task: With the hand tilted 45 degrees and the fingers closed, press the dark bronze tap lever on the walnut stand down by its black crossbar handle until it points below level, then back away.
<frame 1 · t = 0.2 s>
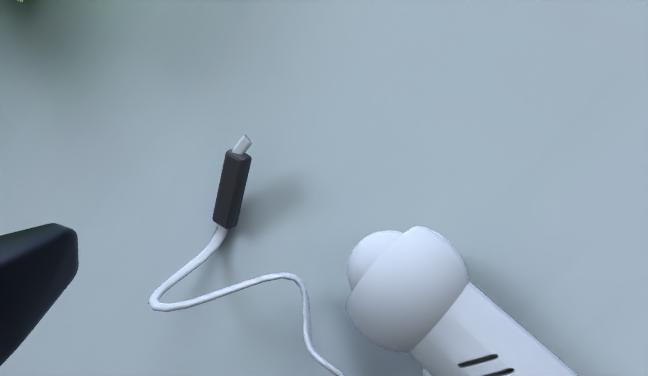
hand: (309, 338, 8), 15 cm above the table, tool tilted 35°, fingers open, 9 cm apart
clip-on lamp: (344, 326, 23), on the table
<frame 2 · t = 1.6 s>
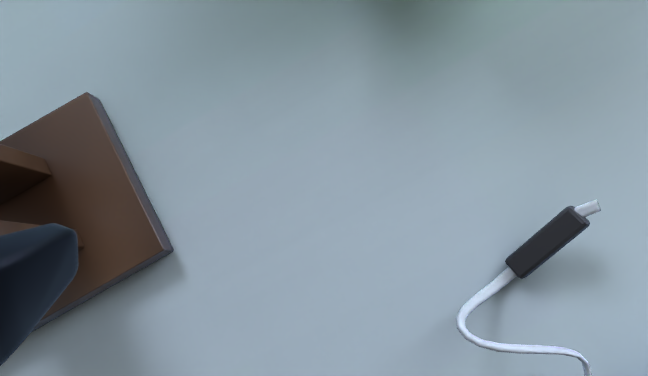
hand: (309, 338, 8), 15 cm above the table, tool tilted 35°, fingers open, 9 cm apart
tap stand: (41, 226, 25), on the table
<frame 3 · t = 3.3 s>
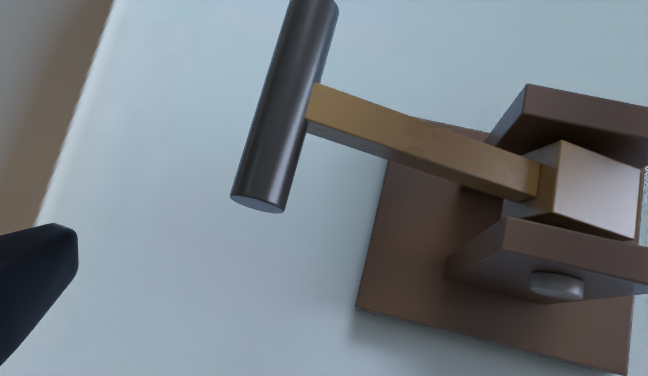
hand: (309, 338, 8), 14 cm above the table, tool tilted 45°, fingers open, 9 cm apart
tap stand: (496, 239, 22), on the table
tap lever: (446, 155, 14), point 9 cm above the table, hinge at 18.0°
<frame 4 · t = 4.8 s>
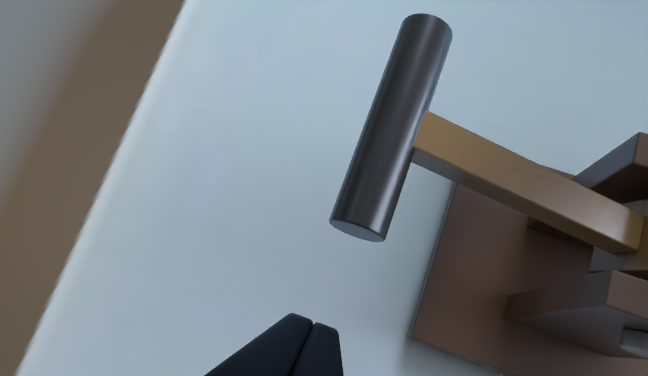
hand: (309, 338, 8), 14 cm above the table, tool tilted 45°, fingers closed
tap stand: (558, 281, 22), on the table
tap lever: (547, 197, 14), point 9 cm above the table, hinge at 18.0°
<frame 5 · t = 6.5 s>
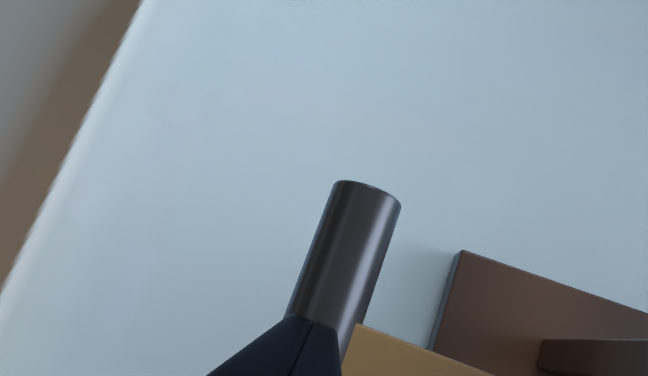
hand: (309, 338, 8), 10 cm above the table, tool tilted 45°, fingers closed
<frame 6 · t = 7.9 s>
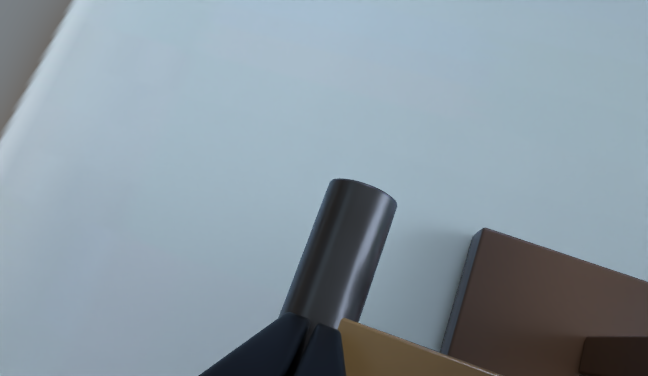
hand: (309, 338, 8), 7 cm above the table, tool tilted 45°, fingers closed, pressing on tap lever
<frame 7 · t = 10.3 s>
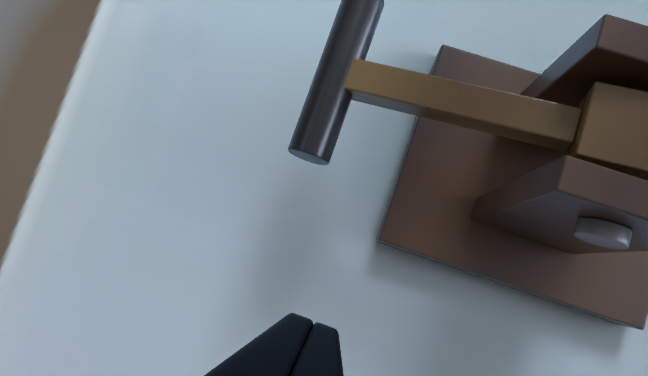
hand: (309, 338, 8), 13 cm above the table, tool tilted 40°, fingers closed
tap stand: (527, 184, 22), on the table
tap lever: (480, 109, 15), point 7 cm above the table, hinge at -11.9°
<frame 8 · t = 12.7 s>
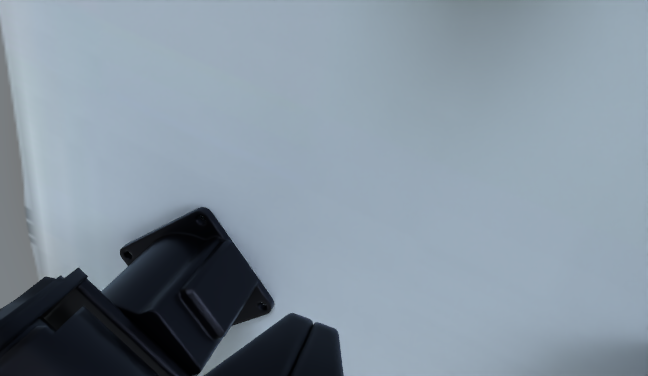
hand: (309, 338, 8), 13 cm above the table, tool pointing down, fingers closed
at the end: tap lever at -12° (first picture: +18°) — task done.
